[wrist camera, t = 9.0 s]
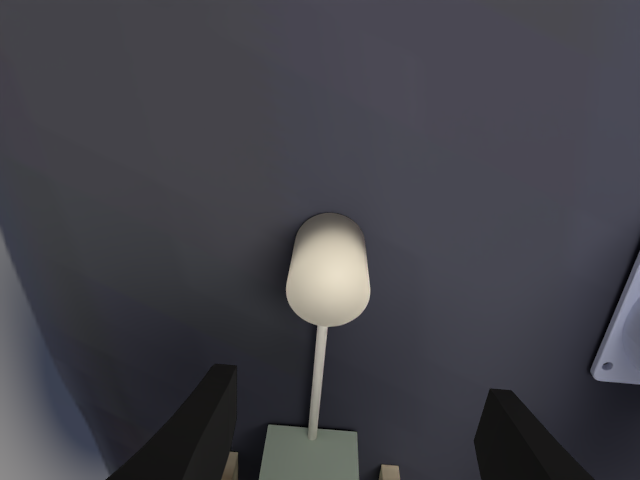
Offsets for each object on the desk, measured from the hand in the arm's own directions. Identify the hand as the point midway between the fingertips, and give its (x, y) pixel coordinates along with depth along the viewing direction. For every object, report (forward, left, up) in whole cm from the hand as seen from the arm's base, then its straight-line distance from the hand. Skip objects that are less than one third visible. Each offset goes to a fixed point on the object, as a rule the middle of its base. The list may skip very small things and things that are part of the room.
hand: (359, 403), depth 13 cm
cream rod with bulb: (+7, -1, -9) cm, 12 cm away
